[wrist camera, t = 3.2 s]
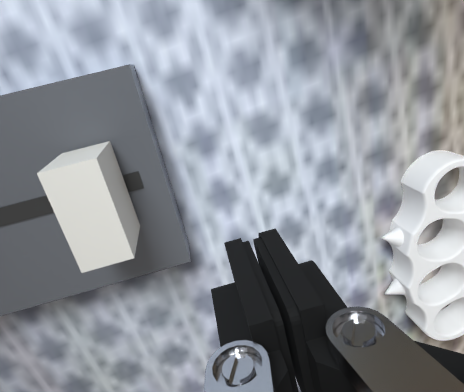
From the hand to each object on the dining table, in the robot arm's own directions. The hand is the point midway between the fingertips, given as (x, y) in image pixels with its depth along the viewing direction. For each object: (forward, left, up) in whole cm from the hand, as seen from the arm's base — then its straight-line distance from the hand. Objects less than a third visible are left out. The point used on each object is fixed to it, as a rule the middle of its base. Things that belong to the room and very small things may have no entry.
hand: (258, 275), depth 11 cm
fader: (0, -7, -14) cm, 15 cm away
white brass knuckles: (+14, +20, -18) cm, 30 cm away
